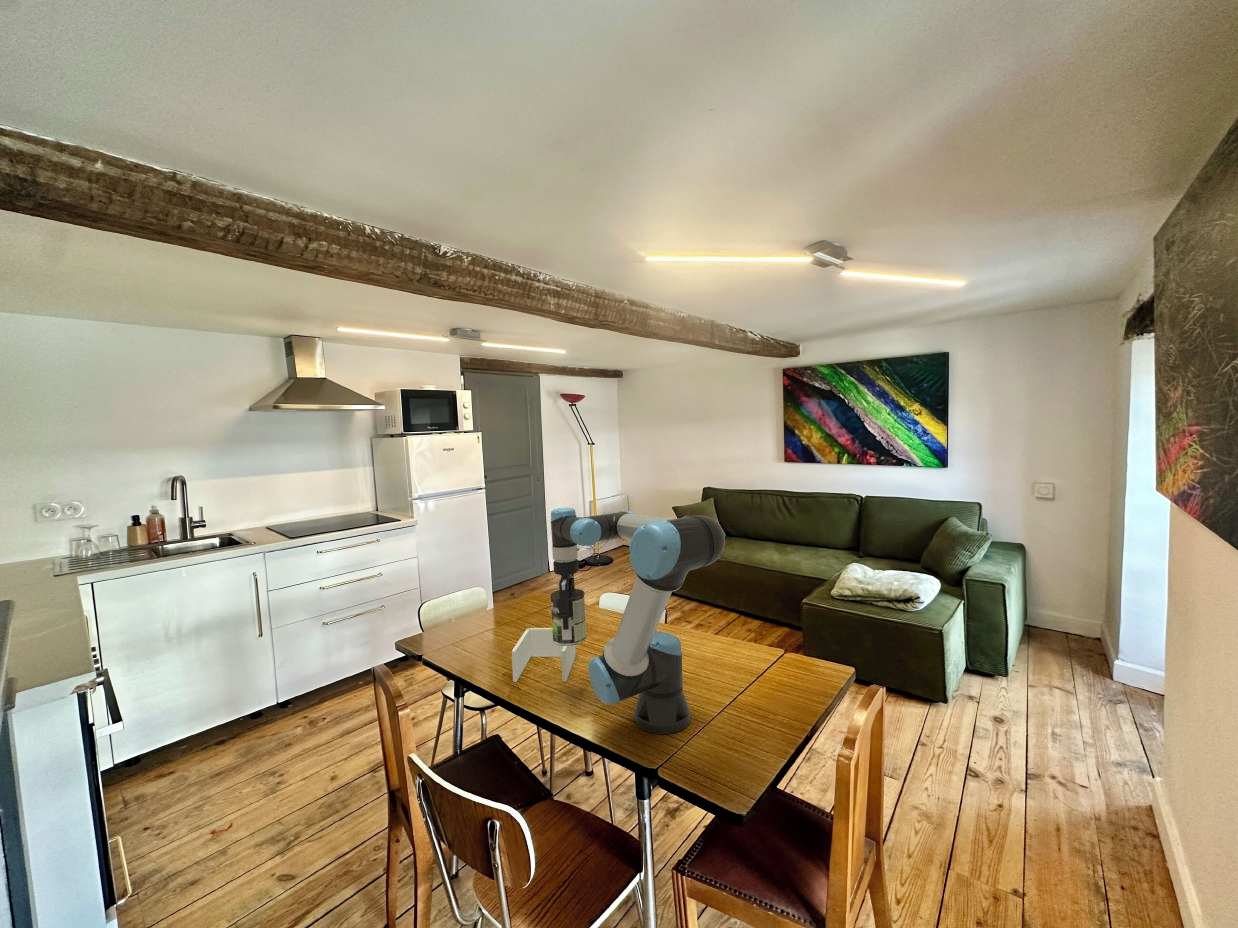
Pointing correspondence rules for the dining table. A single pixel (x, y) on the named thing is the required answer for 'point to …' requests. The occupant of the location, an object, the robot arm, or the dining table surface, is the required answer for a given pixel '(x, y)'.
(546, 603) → the dining table surface
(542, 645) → the white u-shaped bracket
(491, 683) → the dining table surface
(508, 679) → the dining table surface
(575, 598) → the coffee can
